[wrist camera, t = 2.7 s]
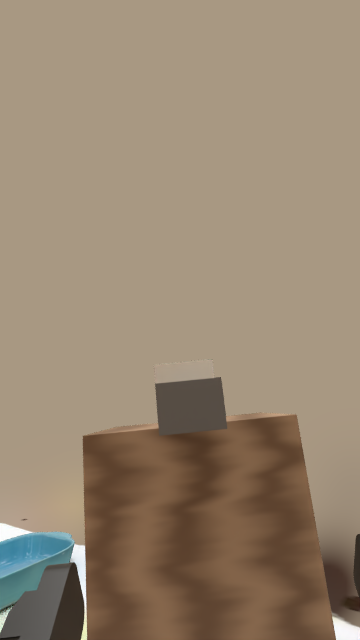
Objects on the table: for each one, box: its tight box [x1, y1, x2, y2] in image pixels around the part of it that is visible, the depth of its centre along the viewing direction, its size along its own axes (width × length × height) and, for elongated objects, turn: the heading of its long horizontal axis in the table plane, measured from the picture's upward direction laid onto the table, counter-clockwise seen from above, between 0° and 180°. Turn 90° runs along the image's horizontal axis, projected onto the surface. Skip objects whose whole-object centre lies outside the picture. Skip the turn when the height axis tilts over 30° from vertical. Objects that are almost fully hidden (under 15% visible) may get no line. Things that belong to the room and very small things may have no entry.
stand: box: [83, 413, 336, 640], centre depth 31 cm, size 18×14×32 cm
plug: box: [154, 359, 227, 436], centre depth 30 cm, size 6×19×6 cm, turn 0°
